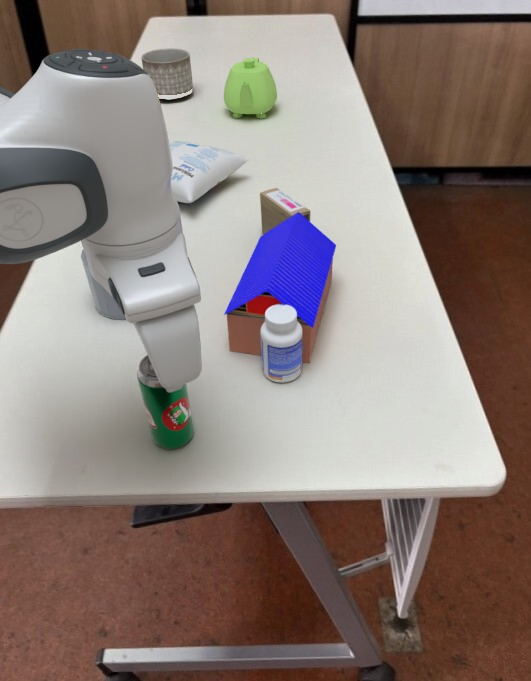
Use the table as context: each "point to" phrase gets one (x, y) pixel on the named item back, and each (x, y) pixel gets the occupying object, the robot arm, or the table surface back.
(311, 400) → the table surface
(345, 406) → the table surface
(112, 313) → the steel cup
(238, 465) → the table surface
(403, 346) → the table surface
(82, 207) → the robot arm
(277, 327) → the pill bottle
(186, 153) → the pouch
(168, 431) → the soda can
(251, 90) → the teapot
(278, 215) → the ink box
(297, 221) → the house
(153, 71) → the planter
